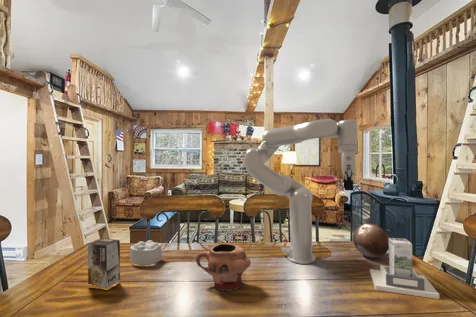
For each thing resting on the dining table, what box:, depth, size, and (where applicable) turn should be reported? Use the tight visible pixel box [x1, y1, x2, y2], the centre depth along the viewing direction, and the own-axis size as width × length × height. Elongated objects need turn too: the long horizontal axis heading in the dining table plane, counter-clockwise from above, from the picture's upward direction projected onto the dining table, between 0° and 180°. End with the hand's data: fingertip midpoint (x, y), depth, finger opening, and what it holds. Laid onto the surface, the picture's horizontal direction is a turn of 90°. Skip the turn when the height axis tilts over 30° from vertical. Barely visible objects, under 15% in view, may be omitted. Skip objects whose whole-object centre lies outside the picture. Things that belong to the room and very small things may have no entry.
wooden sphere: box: [352, 222, 390, 259], centre depth 117 cm, size 15×15×15 cm
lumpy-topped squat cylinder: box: [129, 239, 162, 265], centre depth 113 cm, size 10×13×9 cm
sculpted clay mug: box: [195, 243, 252, 292], centre depth 91 cm, size 20×12×14 cm, turn 88°
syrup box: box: [388, 237, 413, 277], centre depth 90 cm, size 6×6×14 cm
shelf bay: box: [369, 264, 440, 300], centre depth 90 cm, size 18×14×5 cm
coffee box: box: [87, 237, 121, 288], centre depth 92 cm, size 9×6×16 cm
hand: (348, 188), depth 108 cm, fingers open, 9 cm apart
